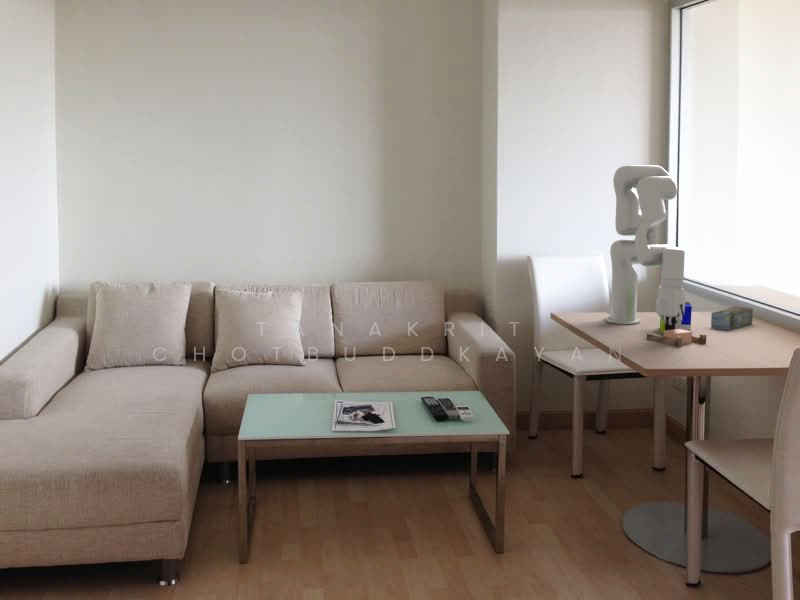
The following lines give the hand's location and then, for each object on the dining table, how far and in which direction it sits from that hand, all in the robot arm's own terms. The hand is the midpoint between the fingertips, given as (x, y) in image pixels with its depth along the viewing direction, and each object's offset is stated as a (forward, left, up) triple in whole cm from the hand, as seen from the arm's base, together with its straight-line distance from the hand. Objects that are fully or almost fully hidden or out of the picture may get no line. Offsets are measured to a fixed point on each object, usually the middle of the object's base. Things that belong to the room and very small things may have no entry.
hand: (669, 335), depth 334 cm
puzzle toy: (-12, +13, -2) cm, 18 cm away
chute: (+3, 0, -1) cm, 4 cm away
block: (+5, -1, -2) cm, 5 cm away
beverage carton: (-10, +39, -2) cm, 41 cm away
